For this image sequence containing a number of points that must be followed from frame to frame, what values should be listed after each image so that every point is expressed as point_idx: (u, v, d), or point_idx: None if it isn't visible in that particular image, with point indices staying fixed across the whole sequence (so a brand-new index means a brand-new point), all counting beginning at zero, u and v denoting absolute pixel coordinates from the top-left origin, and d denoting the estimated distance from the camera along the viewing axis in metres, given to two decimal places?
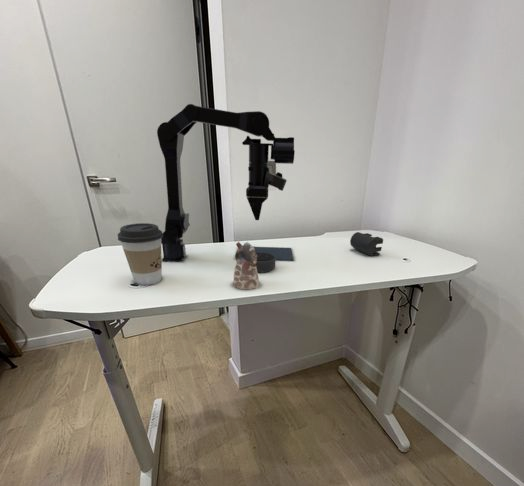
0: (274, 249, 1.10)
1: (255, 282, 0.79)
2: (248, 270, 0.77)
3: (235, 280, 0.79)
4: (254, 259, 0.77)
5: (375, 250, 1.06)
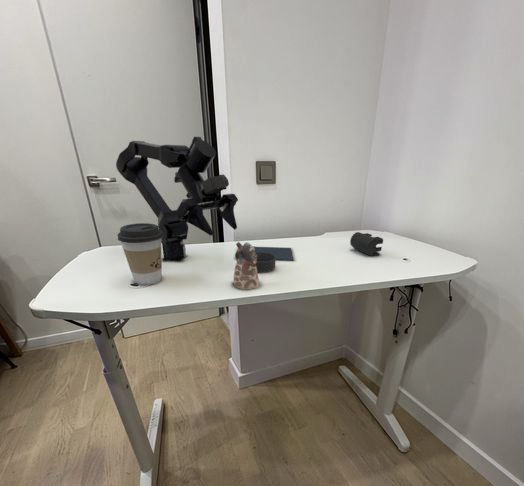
0: (274, 249, 1.10)
1: (255, 282, 0.79)
2: (248, 270, 0.77)
3: (235, 280, 0.79)
4: (254, 259, 0.77)
5: (375, 250, 1.06)
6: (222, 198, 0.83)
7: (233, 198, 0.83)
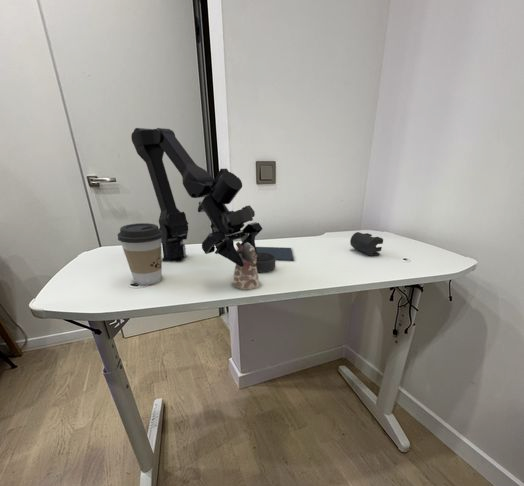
0: (274, 249, 1.10)
1: (256, 282, 0.79)
2: (248, 271, 0.77)
3: (235, 280, 0.79)
4: (254, 259, 0.77)
5: (375, 250, 1.06)
6: (246, 228, 0.81)
7: (258, 228, 0.81)
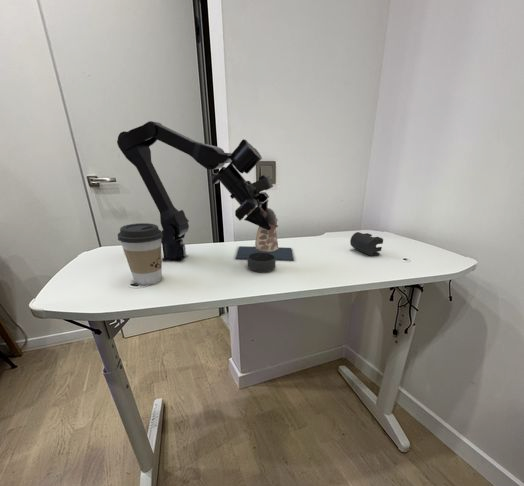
0: None
1: (277, 244, 0.89)
2: (273, 233, 0.86)
3: (261, 244, 0.87)
4: (276, 223, 0.86)
5: (375, 250, 1.06)
6: (257, 197, 0.89)
7: (267, 196, 0.90)
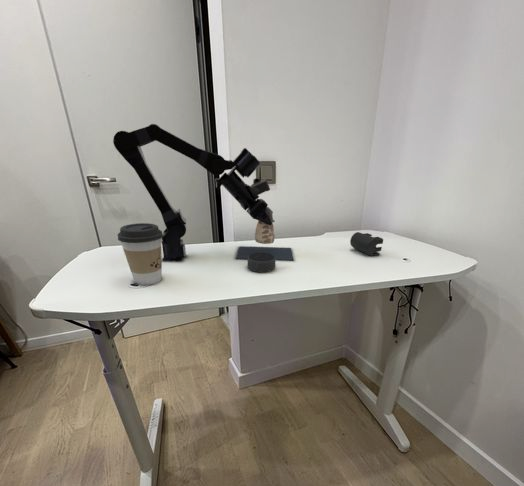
0: (274, 249, 1.10)
1: None
2: (273, 227, 1.01)
3: (264, 238, 1.00)
4: None
5: (375, 250, 1.06)
6: None
7: None
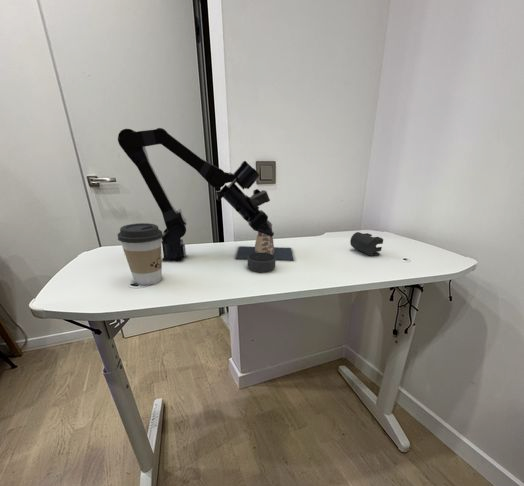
0: (274, 249, 1.10)
1: None
2: (272, 239, 1.03)
3: (264, 250, 1.02)
4: None
5: (375, 250, 1.06)
6: None
7: None
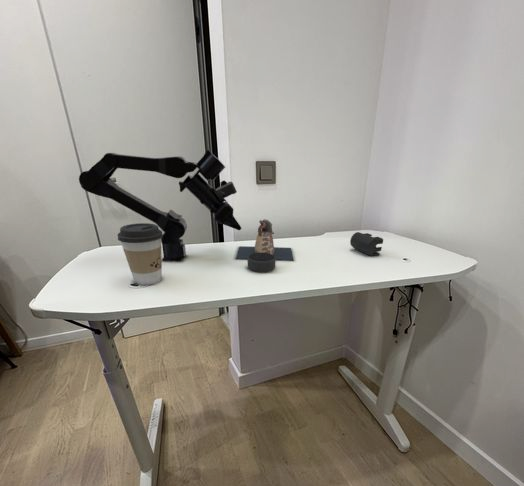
0: (274, 249, 1.10)
1: None
2: (272, 239, 1.03)
3: (264, 250, 1.02)
4: None
5: (375, 250, 1.06)
6: None
7: None
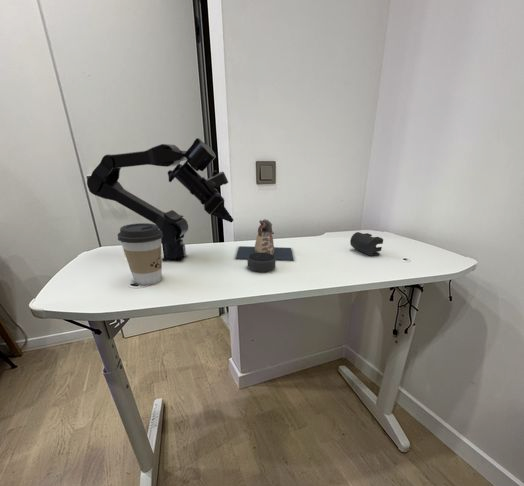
0: (274, 249, 1.10)
1: None
2: (272, 239, 1.03)
3: (264, 250, 1.02)
4: None
5: (375, 250, 1.06)
6: None
7: None
